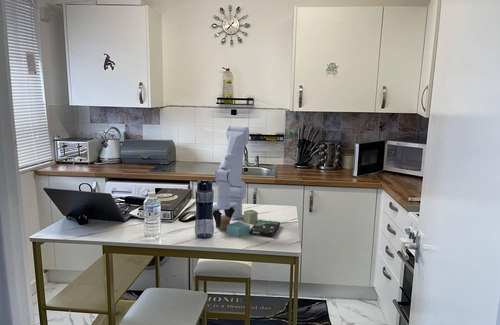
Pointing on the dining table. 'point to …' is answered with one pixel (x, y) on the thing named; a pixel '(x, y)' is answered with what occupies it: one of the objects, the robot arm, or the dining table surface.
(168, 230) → the dining table surface
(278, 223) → the disk drive
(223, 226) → the walnut block
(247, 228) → the teal block
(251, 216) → the olive block
